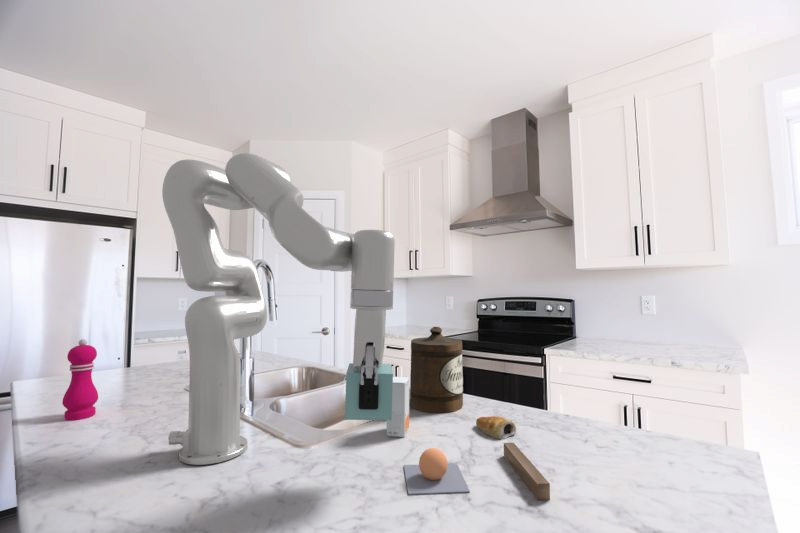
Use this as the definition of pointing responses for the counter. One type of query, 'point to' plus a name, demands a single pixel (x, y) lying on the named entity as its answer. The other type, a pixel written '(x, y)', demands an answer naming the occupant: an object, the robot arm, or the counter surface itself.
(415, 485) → the grey square plate
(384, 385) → the mint green block
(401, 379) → the skincare box
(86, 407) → the pepper mill
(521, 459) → the wooden stick
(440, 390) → the wooden container
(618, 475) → the counter surface
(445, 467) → the ball
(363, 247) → the robot arm
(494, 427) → the pastry
